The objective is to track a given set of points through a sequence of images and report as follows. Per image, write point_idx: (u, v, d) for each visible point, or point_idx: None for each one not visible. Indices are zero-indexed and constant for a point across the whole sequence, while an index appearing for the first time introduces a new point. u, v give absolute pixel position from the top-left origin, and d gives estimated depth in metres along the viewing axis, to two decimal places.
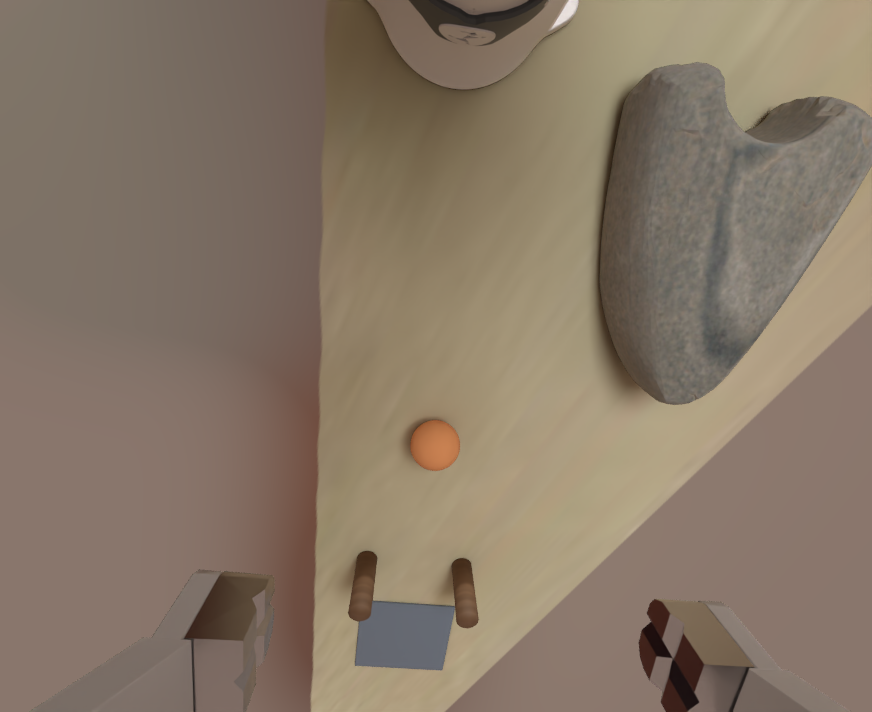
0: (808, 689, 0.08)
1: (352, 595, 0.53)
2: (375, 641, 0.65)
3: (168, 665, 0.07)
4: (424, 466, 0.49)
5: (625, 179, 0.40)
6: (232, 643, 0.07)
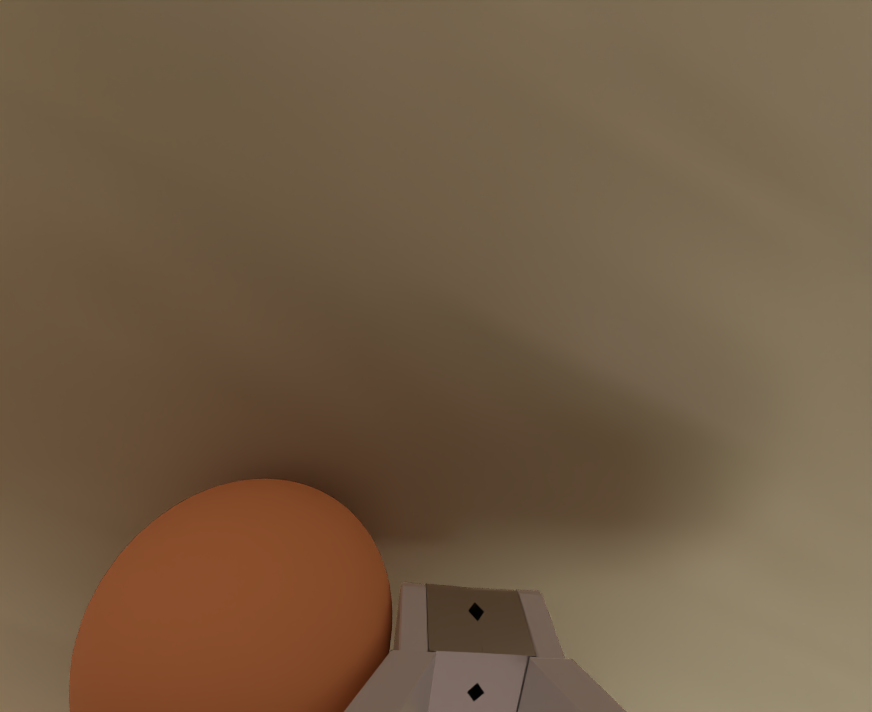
0: (581, 678, 0.07)
1: None
2: None
3: (424, 677, 0.07)
4: None
5: None
6: (470, 655, 0.08)
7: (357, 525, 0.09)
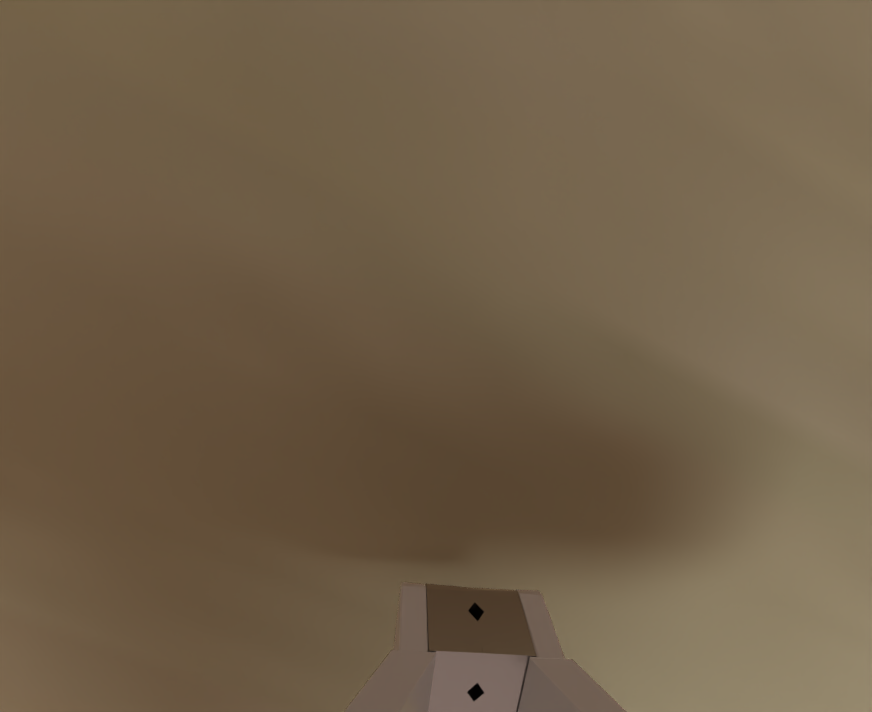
0: (581, 678, 0.07)
1: None
2: None
3: (423, 677, 0.07)
4: None
5: None
6: (470, 655, 0.08)
7: None
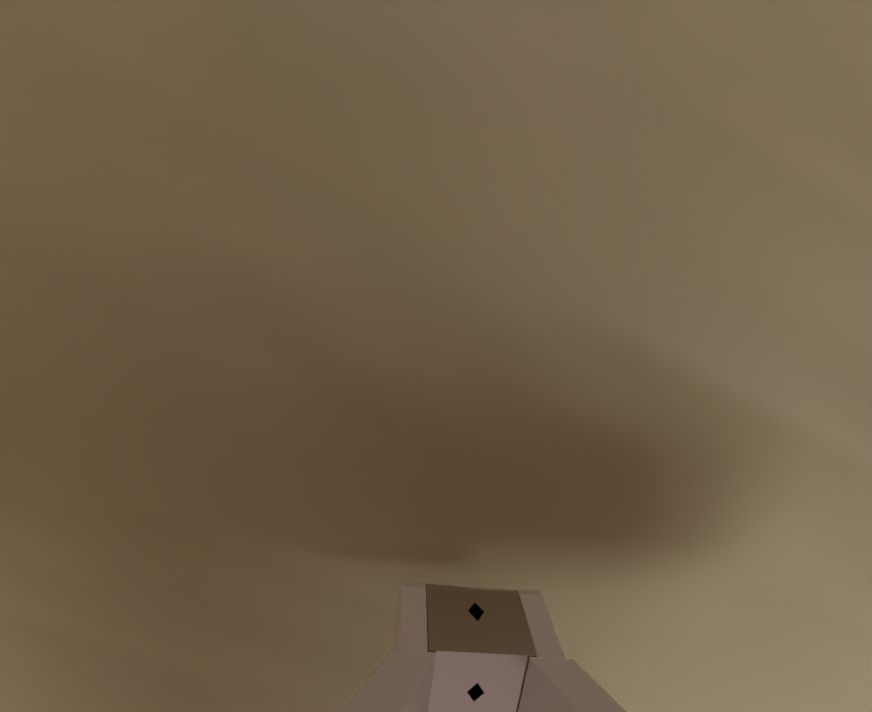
0: (581, 678, 0.07)
1: None
2: None
3: (423, 677, 0.07)
4: None
5: None
6: (470, 655, 0.08)
7: None
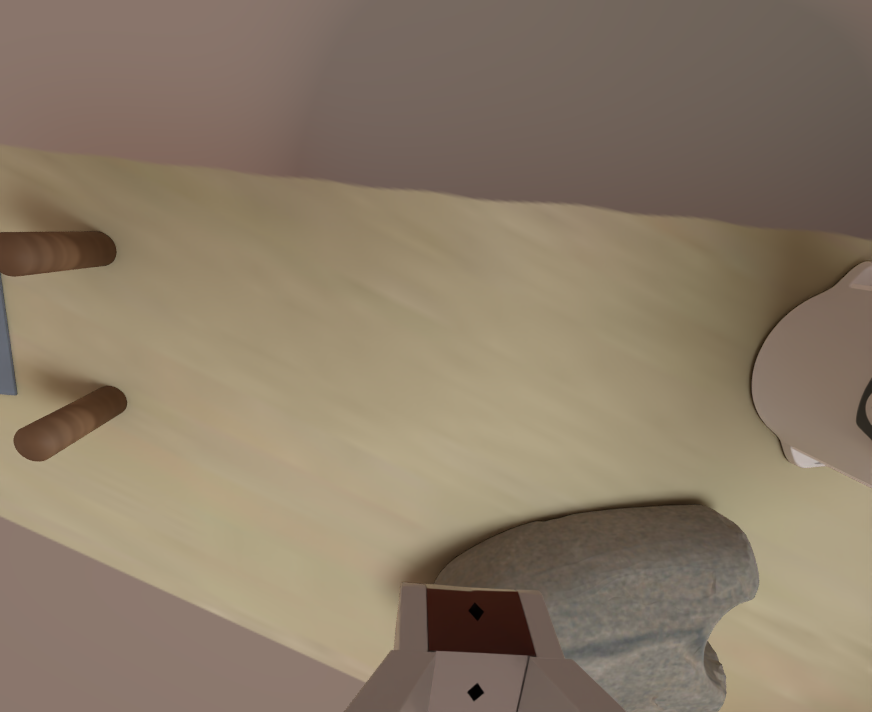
0: (581, 678, 0.07)
1: (41, 236, 0.29)
2: None
3: (424, 677, 0.07)
4: None
5: (650, 531, 0.40)
6: (471, 655, 0.08)
7: None
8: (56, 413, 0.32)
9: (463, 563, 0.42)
